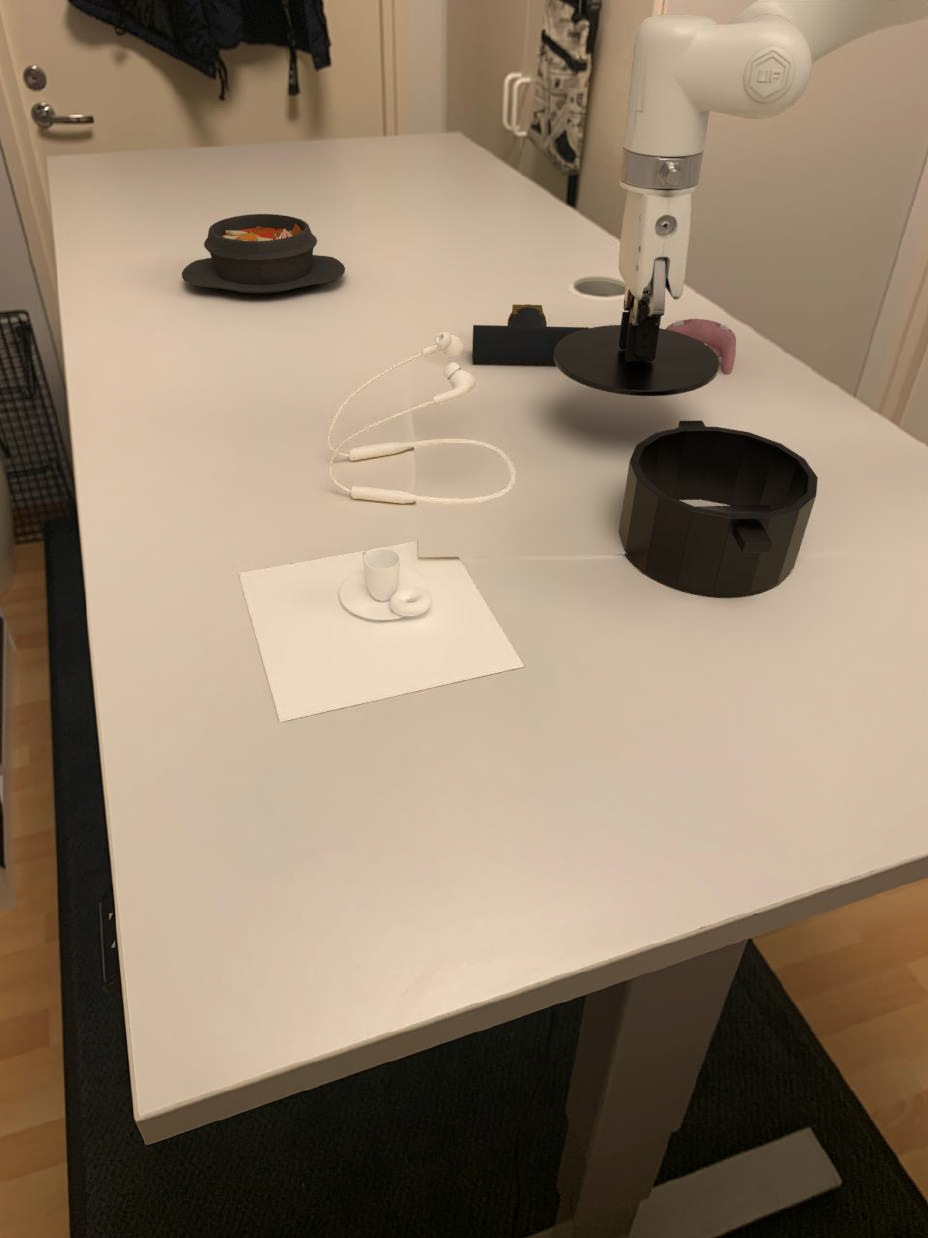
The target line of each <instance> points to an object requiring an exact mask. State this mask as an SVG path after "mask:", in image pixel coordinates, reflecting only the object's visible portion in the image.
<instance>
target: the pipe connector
mask: <svg viewBox="0 0 928 1238" xmlns="http://www.w3.org/2000/svg"><path fill="white" fill-rule="evenodd" d="M547 323H548V322H547V318H546V315H545V313H544V309H543V305H542V304H529V303H527V304H514V303H513V304H512V308H511V312H510V314H509V315H508V319H507V325H494V324H491V325H490V324H473V325H472V348H471V349H472V351H471V352H472V355H471V357H472V358H471V359H472V365H488V366H489V365H490V366H491V365H492V366H535V367H537V366H539V367H540V366H541V367H557V366H556V364H555V362H554V349H555V347H556V345H557V344H558V343H559V341H561V340H562V339H563V338H564V337H566V336H568V335H570V334H572V333H575V332H577V331H581V330H584V329H588V328H589V327H587V326H586V327H585V326H547V325H548V324H547Z"/></svg>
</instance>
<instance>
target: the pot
mask: <svg viewBox="0 0 928 1238" xmlns="http://www.w3.org/2000/svg"><path fill="white" fill-rule="evenodd" d="M677 426H678V427H675V428H672V429H666V430H662V431H657V432H655V433H653V434H651V435H650V436H648V437H647V438H645V439H643V440H642V441H640V442H639V443H637V444H636V445H635V447H634V449H633V452H632V454H631V457H630V459H629V463H628V470H627V476H626V483H625V489H624V495H623V501H622V506H621V507H622V508H621V513H620V521H619V529H618V535H619V538H620V541H621V544H622V546H623V550H624V552H625V553H624V555H625V557H626V558H627V560H628V561H629V562H630V563H631V564H632V565H633V566H634V568H636V569H637V570H639V571H640V572H641V573H642V574H643V575H645V576H647V577H648V578H649V579H651V580H653V581H656V582H657V583H659V584H662V585H664V586H666V587H669V588H671V589H674V590H677V591H680V592H684V593H686V594H687V593H688V594H692V595H696V596H702V597H708V598H709V597H711V598H722V599H723V598H729V599H730V598H731V599H732V598H743V597H750V596H751V597H752V596H755V595H759V594H762V593H765V592H768V591H771V590H773V589H774V588H776V587H778V586H780V585H781V583H783V582H784V581H786V579H787V578H788V577H789V575H790V574H791V573H792V571H793V570H794V569H795V565H796V562H797V559H798V556H799V552H800V549H801V546H802V542H803V539H804V536H805V533H806V530H807V526H808V524H809V520H810V517H811V514H812V511H813V507H814V505H815V501H816V497H817V491H818V481H819V480H818V476H817V474H816V473H815V472H814V470H813V468H812V467H811V465H809V463H808V461H807V460H806V459H805V458H804V457H803V456H801V455H799V454H798V453H797V452H795V451H793V450H791V449H790V448H789V447H787V446H785V445H784V444H783V443H781V442H778V441H775V440H772V439H769V438H766V437H763V436H761V435H759V434H756V433H752V432H749V431H746V430H745V431H744V430H739V429H733V428H726V427H720V426H706V425H705V423H704V422H703V420H679V421H678V425H677ZM684 501H705V502H711V503H717V504H721V505H725V506H746V505H769V507H770V508H771V510H772V511H771V512H768V513H734V514H730V513H724V512H719V511H714V510H709V509H703V508H698V507H694V505H692V504H689V503H688V502H684Z"/></svg>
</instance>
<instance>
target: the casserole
mask: <svg viewBox="0 0 928 1238" xmlns="http://www.w3.org/2000/svg"><path fill="white" fill-rule="evenodd" d="M317 243H318V238H317V237H316V236H315V235H314V234H313V233H312V231H311V227H310V225H309V223H308V222H306V221H305V220H303V219H301V218H297V217H294V216H291V215H290V216H289V215H283V214H273V213H254V214H253V213H252V214H242V215H236V216H231V217H229V218H228V217H227V218H224V219H221V220H218V221H216V222H214V223H213V224H212V225H209V228H208V232H207V238H206V239H205V240H204V242H203V248H205V250H206V251H207V252H208V253H209V254H210V255H209V256H210V257H206V258H201V259H197V260H194V261H192V262H190V263H189V264H187V265H186V266H185V267H184V268H183V269H182V272H181V278H182V279H183V281H184V282H185V283H187V284H188V285H191V286H194V287H199V288H200V287H201V288H207V289H208V288H209V289H221V290H229V291H234V292H238V293H243V294H249V295H275V294H281V293H285V292H290V291H293V290H295V288H296V289H298V288H304V287H308V286H314V285H322V284H327V283H333V282H335V281H337V280H338V279H340V278H342V277H343V276H344V274H345V273H346V267H345V264H343V263H342V262H341V261H340V260H339V259H337V258H335V257H333V256H329V255H317V254H314V248H315V247H316V246H317ZM292 289H293V290H292ZM274 293H275V294H274Z"/></svg>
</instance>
